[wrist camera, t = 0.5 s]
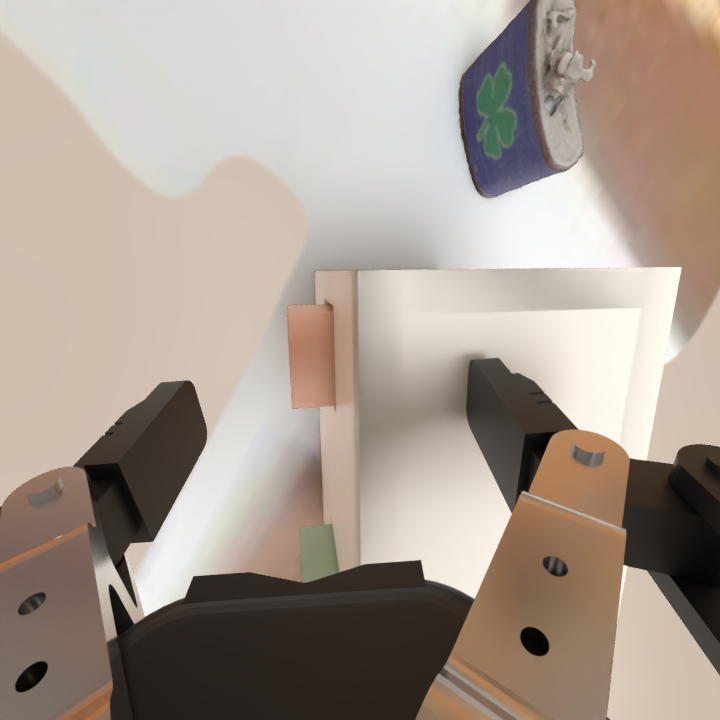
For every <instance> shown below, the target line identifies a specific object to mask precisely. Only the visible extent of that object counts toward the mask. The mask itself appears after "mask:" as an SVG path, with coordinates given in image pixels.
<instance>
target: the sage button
mask: <svg viewBox="0 0 720 720" xmlns="http://www.w3.org/2000/svg"><path fill="white" fill-rule="evenodd" d="M300 550H301V582H310V581H314V580H317V579H320V578H323V577H326V576H329V575H333V574H336V573H339V566H338V560H337V553H336V547H335V541H334V534H333V528H332V524H325V525H317V526H309V527H300Z"/></svg>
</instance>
